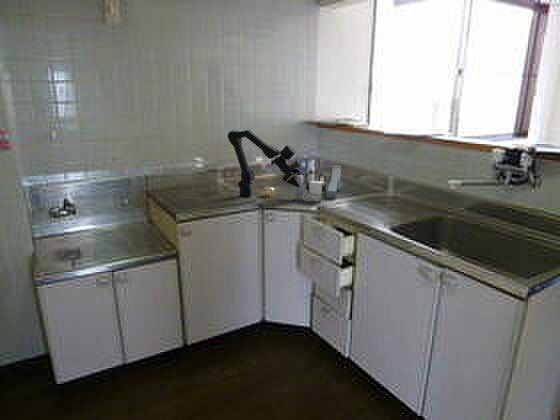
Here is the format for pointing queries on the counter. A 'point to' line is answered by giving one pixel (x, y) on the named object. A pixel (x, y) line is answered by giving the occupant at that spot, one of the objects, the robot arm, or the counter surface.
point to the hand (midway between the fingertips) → (301, 185)
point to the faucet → (334, 182)
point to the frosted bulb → (299, 190)
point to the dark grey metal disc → (299, 199)
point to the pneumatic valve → (317, 189)
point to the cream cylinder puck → (268, 191)
